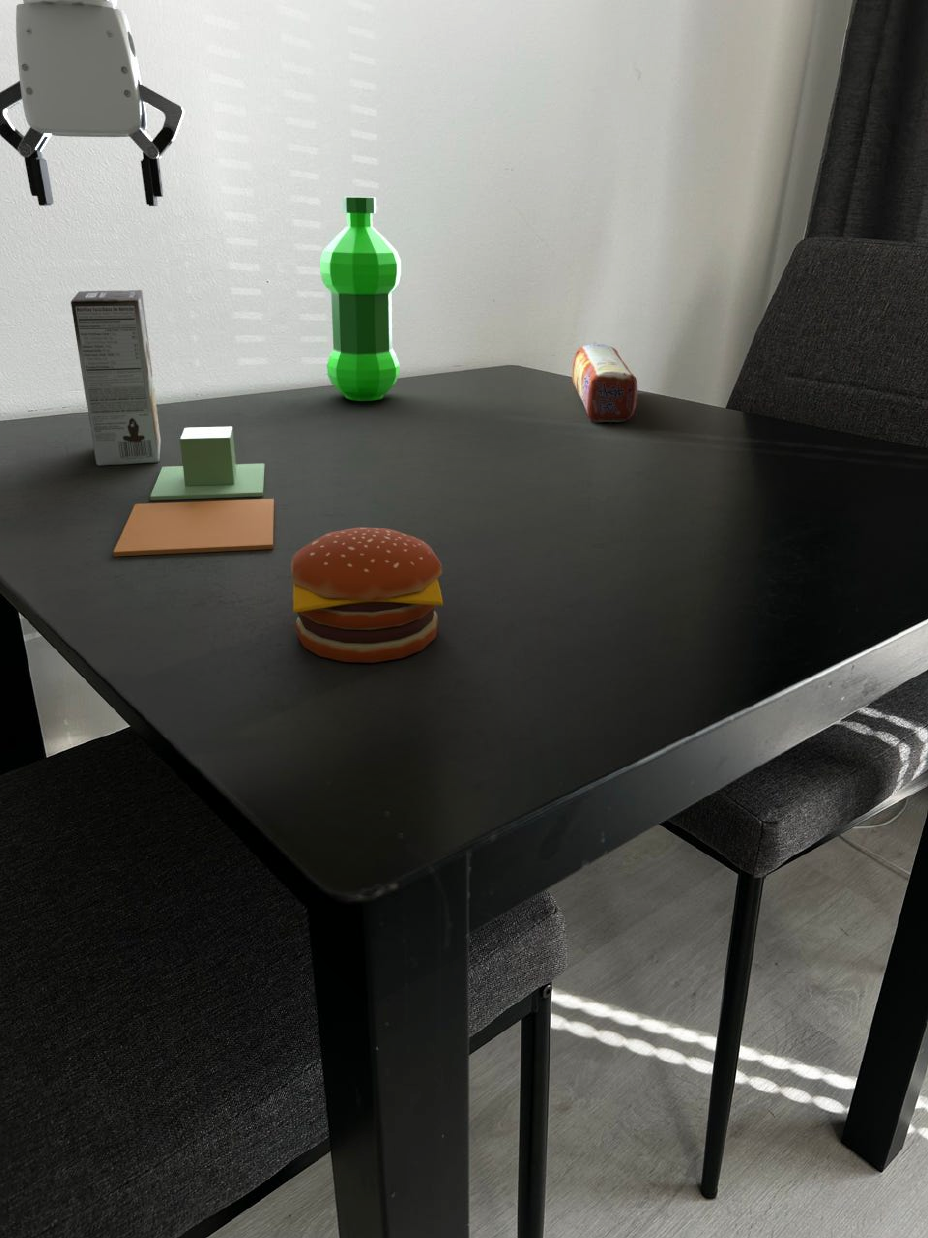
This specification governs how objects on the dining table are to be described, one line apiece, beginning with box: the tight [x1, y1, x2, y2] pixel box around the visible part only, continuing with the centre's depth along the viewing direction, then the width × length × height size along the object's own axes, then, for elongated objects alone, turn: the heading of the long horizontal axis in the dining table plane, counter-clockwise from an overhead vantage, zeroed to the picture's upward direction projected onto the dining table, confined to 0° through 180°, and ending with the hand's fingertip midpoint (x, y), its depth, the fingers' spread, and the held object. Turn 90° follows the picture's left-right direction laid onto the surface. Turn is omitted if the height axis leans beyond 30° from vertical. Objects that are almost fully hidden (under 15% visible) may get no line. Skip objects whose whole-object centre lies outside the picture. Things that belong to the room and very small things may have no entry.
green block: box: [179, 426, 237, 486], centre depth 87 cm, size 4×4×4 cm
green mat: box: [149, 463, 265, 501], centre depth 88 cm, size 10×10×1 cm
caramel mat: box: [112, 498, 275, 557], centre depth 76 cm, size 12×12×1 cm
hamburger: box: [290, 526, 444, 664], centre depth 57 cm, size 9×10×7 cm
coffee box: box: [70, 289, 162, 467], centre depth 93 cm, size 9×6×16 cm
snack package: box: [571, 343, 638, 423], centre depth 121 cm, size 21×7×7 cm, turn 178°
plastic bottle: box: [319, 196, 402, 402], centre depth 120 cm, size 10×10×25 cm
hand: (100, 205), depth 87 cm, fingers open, 9 cm apart
